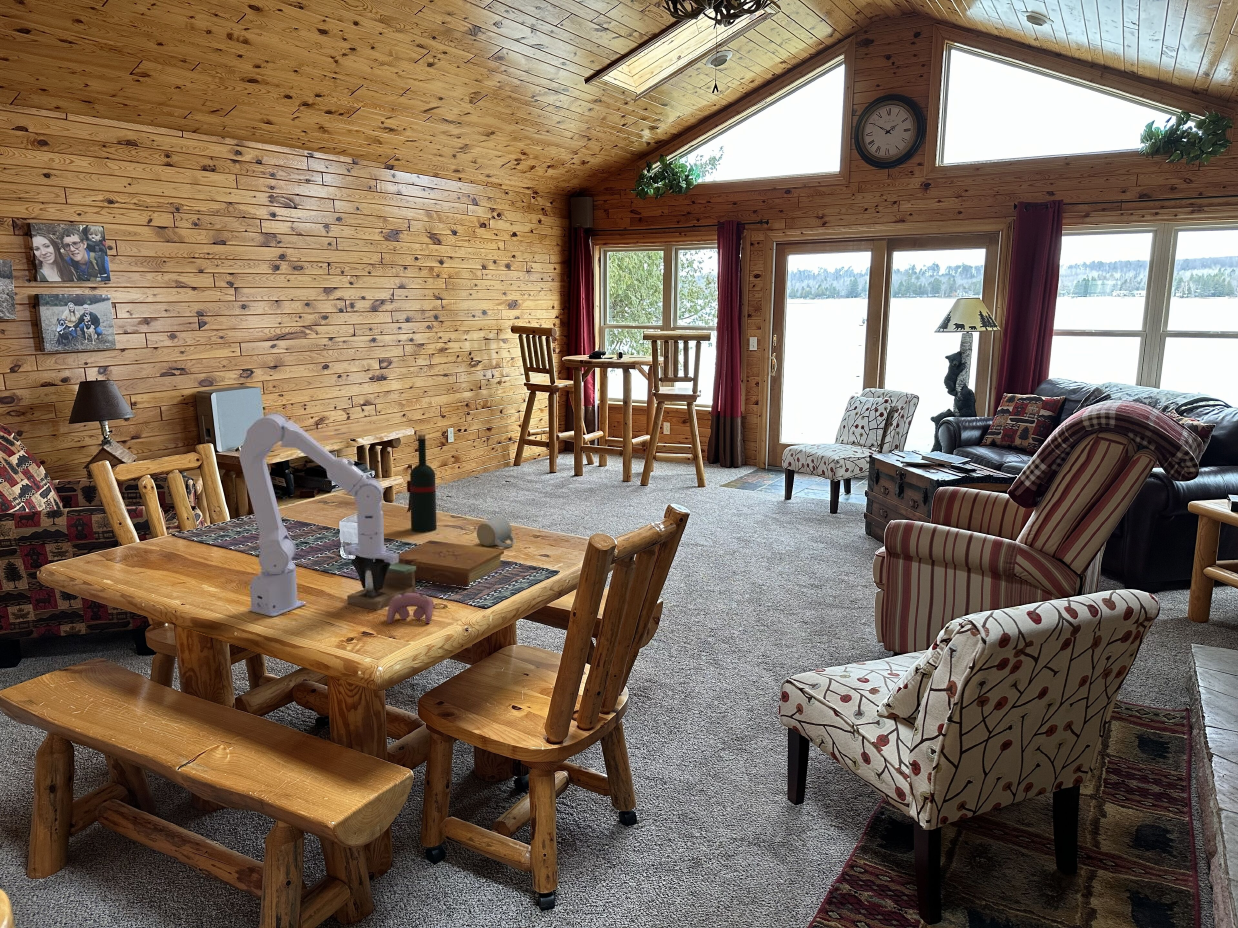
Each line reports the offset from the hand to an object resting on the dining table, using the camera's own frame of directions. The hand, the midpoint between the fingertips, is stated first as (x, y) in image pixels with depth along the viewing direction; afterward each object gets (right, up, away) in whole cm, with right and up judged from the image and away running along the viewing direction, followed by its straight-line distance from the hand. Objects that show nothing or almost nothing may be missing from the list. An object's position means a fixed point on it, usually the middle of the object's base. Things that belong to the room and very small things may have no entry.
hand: (372, 588), depth 189 cm
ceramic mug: (+22, +5, +51) cm, 56 cm away
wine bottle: (-5, +8, +66) cm, 67 cm away
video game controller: (+11, -6, -9) cm, 16 cm away
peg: (0, -2, 0) cm, 2 cm away
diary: (+13, 0, +24) cm, 27 cm away
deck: (+1, -3, +3) cm, 5 cm away
